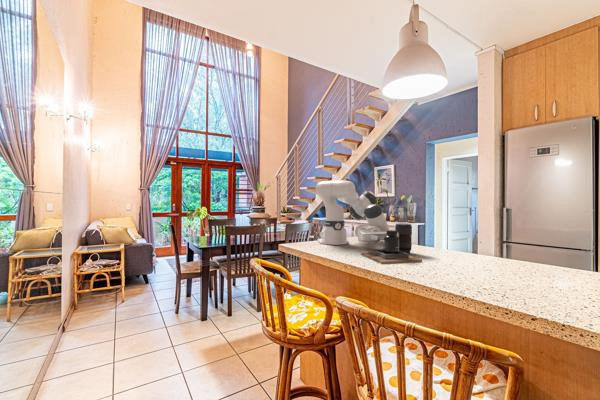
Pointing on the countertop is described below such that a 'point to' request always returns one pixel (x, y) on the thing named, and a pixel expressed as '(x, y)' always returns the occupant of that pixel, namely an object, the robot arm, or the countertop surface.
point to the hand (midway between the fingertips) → (387, 237)
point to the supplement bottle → (391, 242)
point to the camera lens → (404, 237)
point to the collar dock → (390, 257)
